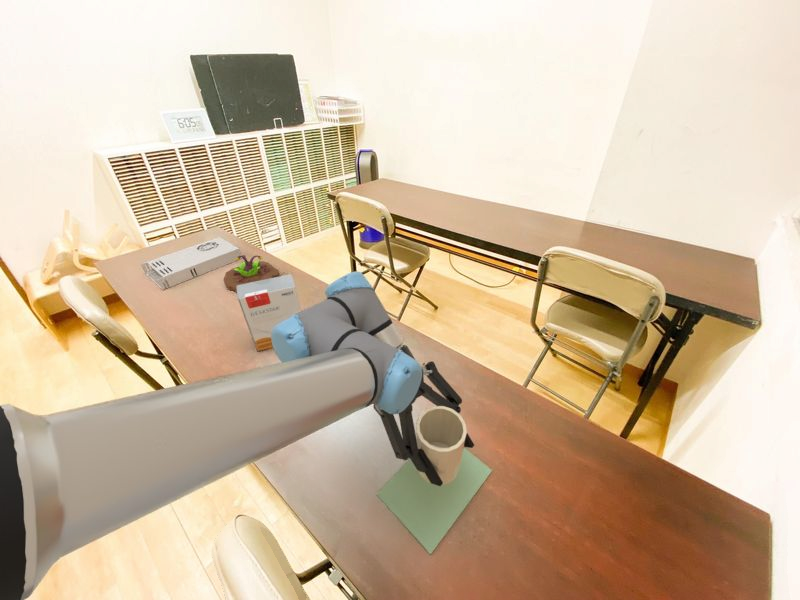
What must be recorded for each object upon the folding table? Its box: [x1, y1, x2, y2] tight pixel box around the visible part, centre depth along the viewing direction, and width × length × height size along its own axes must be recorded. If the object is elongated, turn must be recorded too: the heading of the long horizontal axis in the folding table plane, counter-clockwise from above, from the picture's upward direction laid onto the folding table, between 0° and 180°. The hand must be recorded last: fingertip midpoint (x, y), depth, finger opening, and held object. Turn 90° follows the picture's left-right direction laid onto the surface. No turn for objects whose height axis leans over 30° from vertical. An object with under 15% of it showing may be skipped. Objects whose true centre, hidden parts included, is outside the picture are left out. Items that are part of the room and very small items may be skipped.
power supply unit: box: [140, 236, 243, 291], centre depth 138 cm, size 19×33×5 cm, turn 140°
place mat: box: [376, 447, 493, 556], centre depth 66 cm, size 20×14×1 cm
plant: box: [223, 254, 280, 294], centre depth 127 cm, size 20×20×11 cm
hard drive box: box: [236, 273, 302, 352], centre depth 96 cm, size 16×8×20 cm, turn 114°
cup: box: [415, 405, 468, 485], centre depth 58 cm, size 8×8×12 cm
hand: (453, 463), depth 57 cm, fingers closed on cup, 8 cm apart
